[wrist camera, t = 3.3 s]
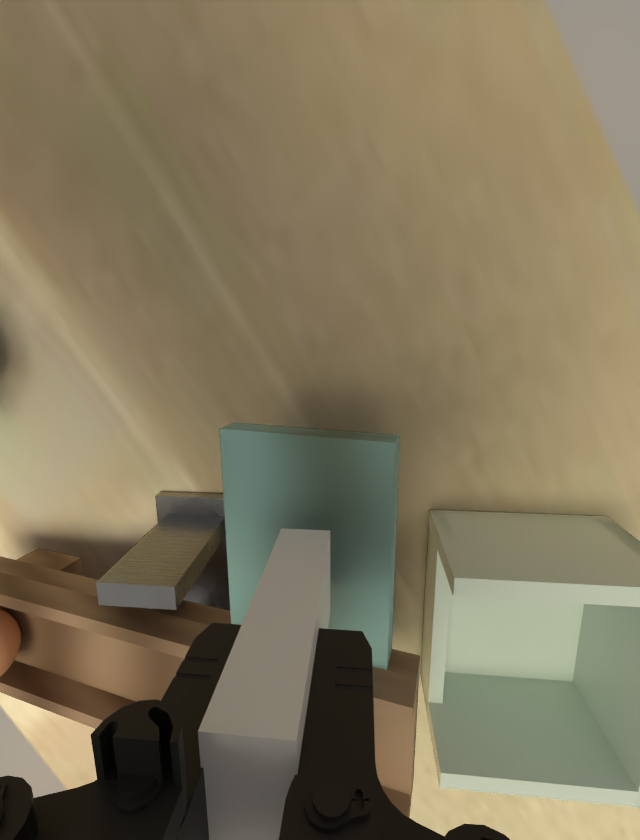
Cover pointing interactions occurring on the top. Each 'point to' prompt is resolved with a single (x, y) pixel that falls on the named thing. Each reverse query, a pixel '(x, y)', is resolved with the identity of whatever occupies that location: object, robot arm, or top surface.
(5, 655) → the ball
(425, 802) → the top surface
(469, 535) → the tray
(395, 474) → the lever
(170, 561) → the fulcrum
